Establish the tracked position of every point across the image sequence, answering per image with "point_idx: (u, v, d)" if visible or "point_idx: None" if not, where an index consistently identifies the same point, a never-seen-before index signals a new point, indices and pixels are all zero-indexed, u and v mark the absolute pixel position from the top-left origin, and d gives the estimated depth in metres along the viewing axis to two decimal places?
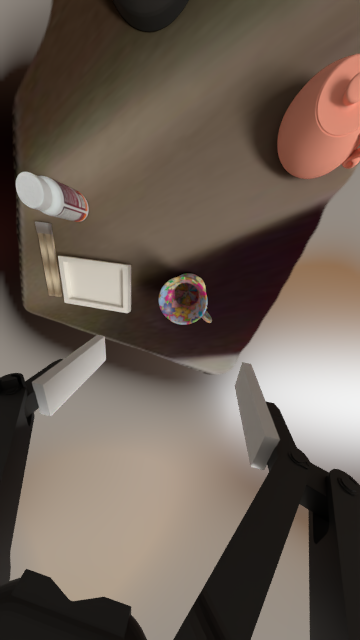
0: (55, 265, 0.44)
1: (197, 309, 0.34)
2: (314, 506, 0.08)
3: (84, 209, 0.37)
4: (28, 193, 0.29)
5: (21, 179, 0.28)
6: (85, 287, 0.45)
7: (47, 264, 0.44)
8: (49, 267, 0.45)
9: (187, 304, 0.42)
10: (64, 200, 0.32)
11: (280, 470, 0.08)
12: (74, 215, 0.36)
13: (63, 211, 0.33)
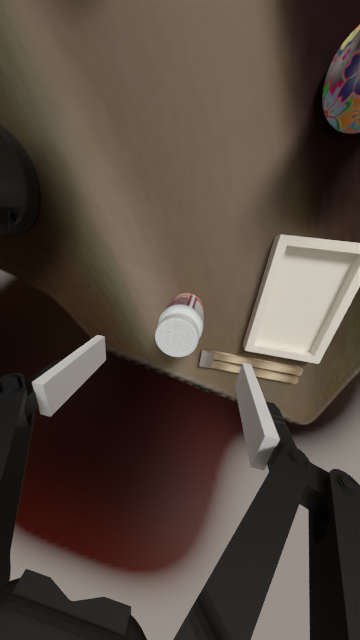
0: (254, 360, 0.31)
1: None
2: (314, 506, 0.08)
3: (191, 295, 0.27)
4: (178, 341, 0.20)
5: (163, 344, 0.20)
6: (297, 325, 0.28)
7: None
8: (255, 369, 0.32)
9: None
10: (184, 304, 0.22)
11: (280, 470, 0.08)
12: (199, 305, 0.26)
13: (197, 311, 0.23)
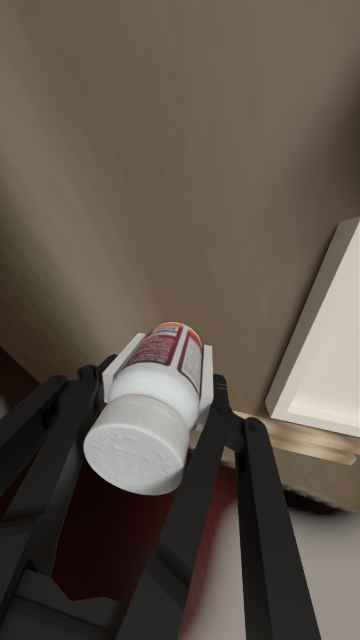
0: (284, 426, 0.19)
1: None
2: (233, 445, 0.10)
3: (180, 328, 0.16)
4: (139, 468, 0.08)
5: (105, 469, 0.09)
6: None
7: (278, 440, 0.20)
8: (283, 438, 0.20)
9: None
10: (161, 363, 0.11)
11: (211, 422, 0.09)
12: (194, 351, 0.14)
13: (188, 376, 0.11)
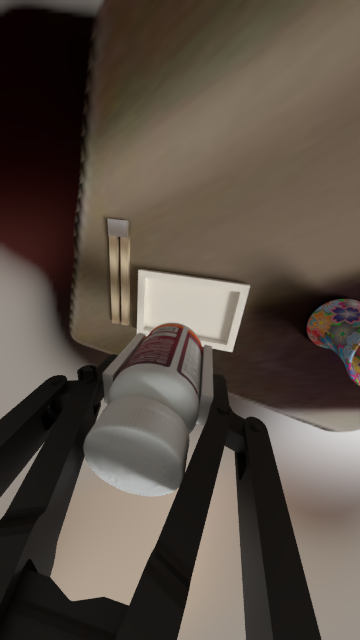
0: (128, 282, 0.30)
1: None
2: (233, 445, 0.10)
3: (180, 329, 0.16)
4: (138, 469, 0.08)
5: (104, 471, 0.09)
6: (169, 313, 0.31)
7: (116, 281, 0.30)
8: (118, 284, 0.31)
9: None
10: (161, 364, 0.11)
11: (211, 422, 0.09)
12: (194, 352, 0.14)
13: (188, 377, 0.11)
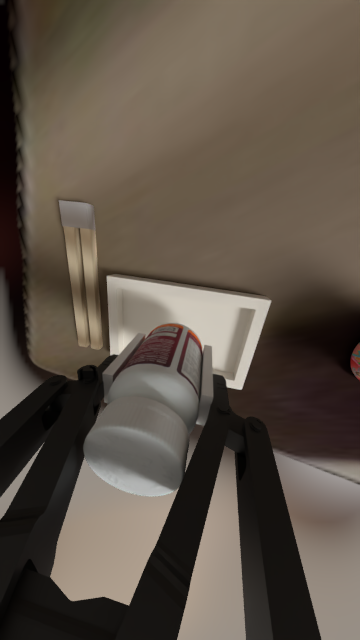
0: (96, 293, 0.22)
1: None
2: (233, 445, 0.10)
3: (180, 329, 0.16)
4: (138, 469, 0.08)
5: (104, 471, 0.09)
6: None
7: (80, 291, 0.22)
8: (83, 295, 0.22)
9: None
10: (161, 364, 0.11)
11: (211, 422, 0.09)
12: (194, 352, 0.14)
13: (188, 377, 0.11)
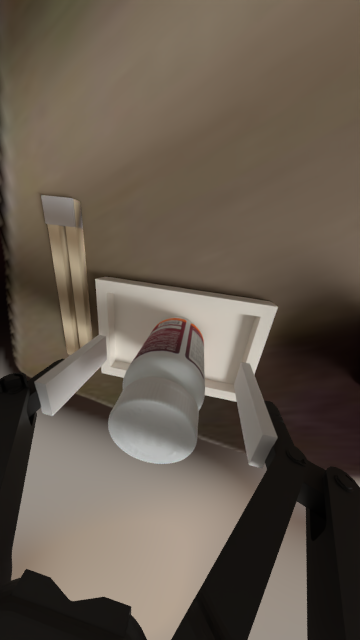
0: (85, 297, 0.20)
1: None
2: (311, 504, 0.08)
3: (184, 322, 0.17)
4: (157, 438, 0.10)
5: (126, 442, 0.10)
6: None
7: (67, 295, 0.20)
8: (71, 300, 0.21)
9: None
10: (171, 351, 0.12)
11: (278, 468, 0.08)
12: (198, 342, 0.15)
13: (195, 362, 0.12)
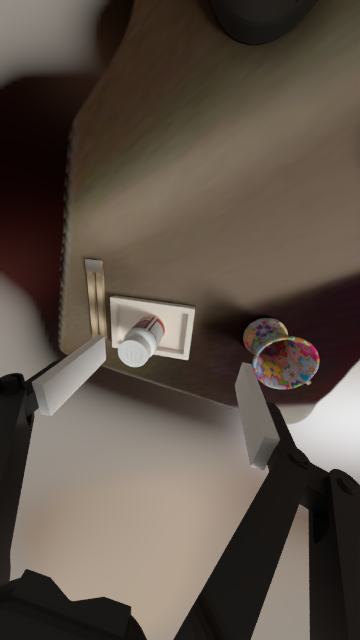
0: (103, 306, 0.38)
1: (295, 369, 0.28)
2: (314, 506, 0.08)
3: (153, 317, 0.35)
4: (134, 355, 0.28)
5: (124, 358, 0.28)
6: None
7: (94, 305, 0.38)
8: (96, 307, 0.39)
9: (261, 351, 0.36)
10: (142, 327, 0.30)
11: (280, 470, 0.08)
12: (157, 326, 0.33)
13: (152, 332, 0.30)
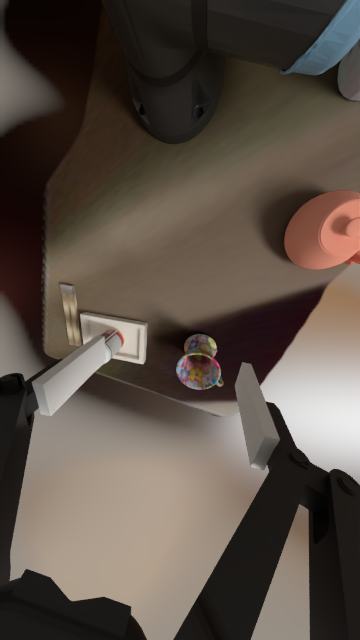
0: (76, 320, 0.48)
1: (210, 374, 0.38)
2: (314, 506, 0.08)
3: (113, 331, 0.45)
4: None
5: None
6: None
7: (69, 319, 0.48)
8: (71, 320, 0.48)
9: (199, 358, 0.46)
10: None
11: (280, 470, 0.08)
12: (115, 338, 0.43)
13: (107, 344, 0.40)
